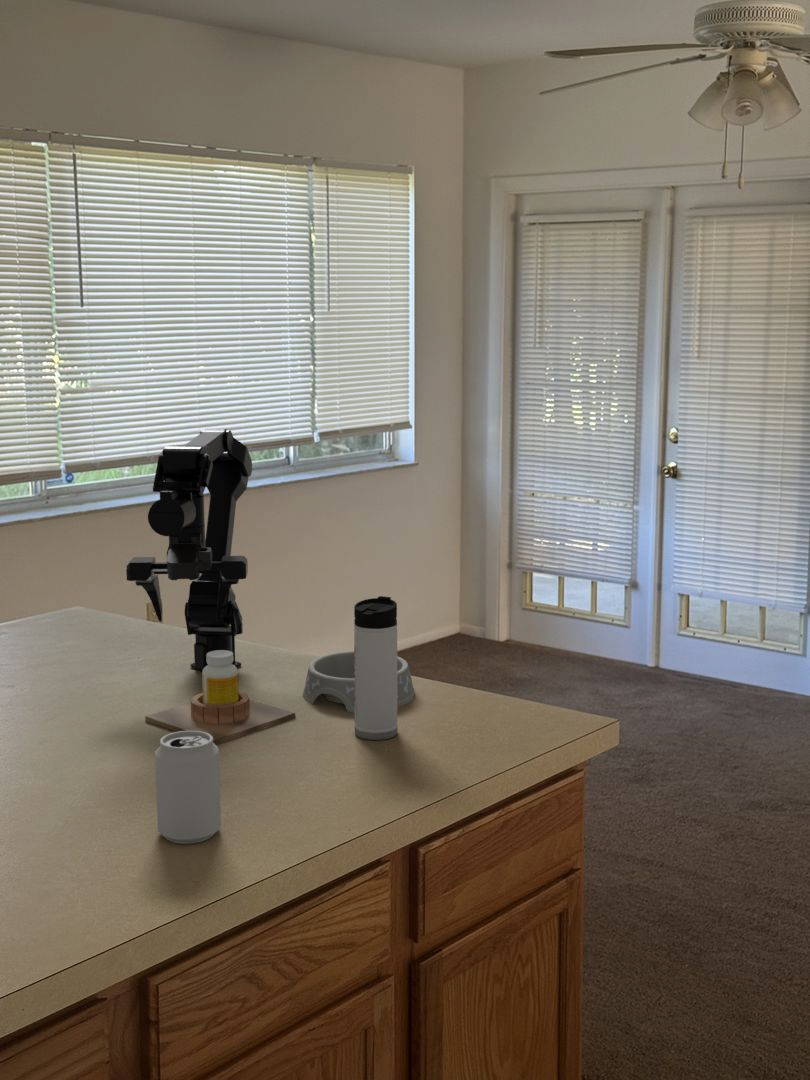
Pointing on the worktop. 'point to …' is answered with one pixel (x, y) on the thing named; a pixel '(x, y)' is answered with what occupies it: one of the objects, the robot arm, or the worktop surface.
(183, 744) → the can
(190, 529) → the robot arm
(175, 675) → the worktop surface
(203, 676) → the supplement bottle
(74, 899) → the worktop surface
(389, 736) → the travel mug
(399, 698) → the dog bowl
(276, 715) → the collar board
